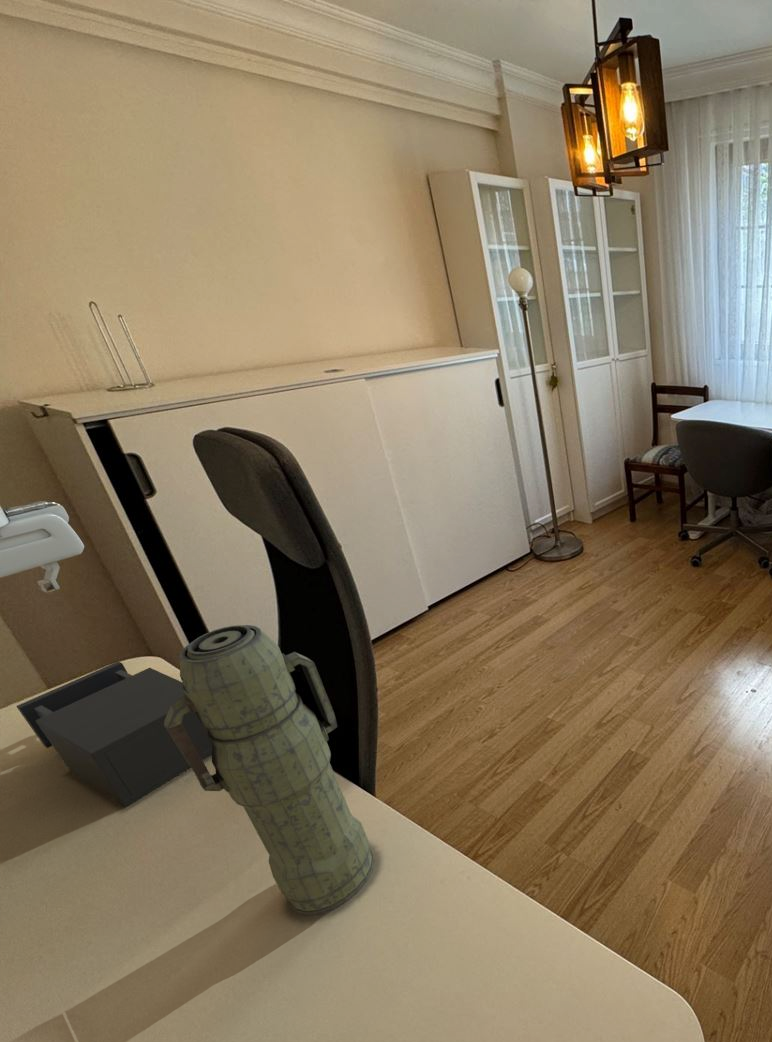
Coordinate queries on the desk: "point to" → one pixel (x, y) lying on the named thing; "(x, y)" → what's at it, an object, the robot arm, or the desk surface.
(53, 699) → the drawer
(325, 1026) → the desk surface
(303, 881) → the thermos
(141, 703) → the cabinet
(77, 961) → the desk surface
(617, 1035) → the desk surface
